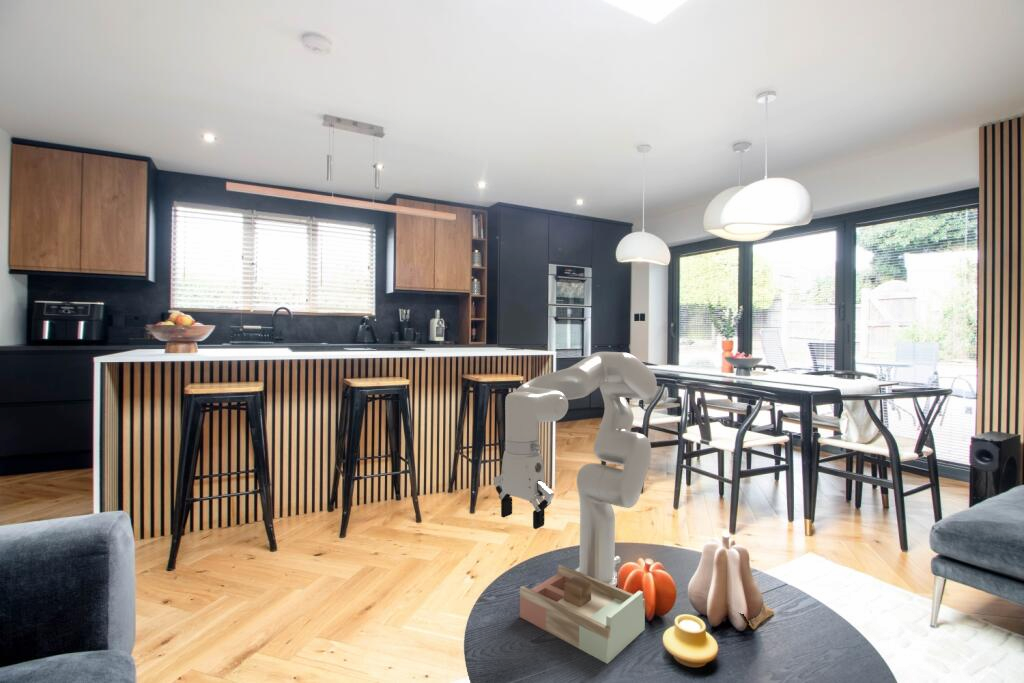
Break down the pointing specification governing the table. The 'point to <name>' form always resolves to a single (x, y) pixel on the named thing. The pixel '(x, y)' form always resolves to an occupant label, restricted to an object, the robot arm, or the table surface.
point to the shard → (761, 617)
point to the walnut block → (577, 591)
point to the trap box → (586, 614)
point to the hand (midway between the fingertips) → (522, 521)
